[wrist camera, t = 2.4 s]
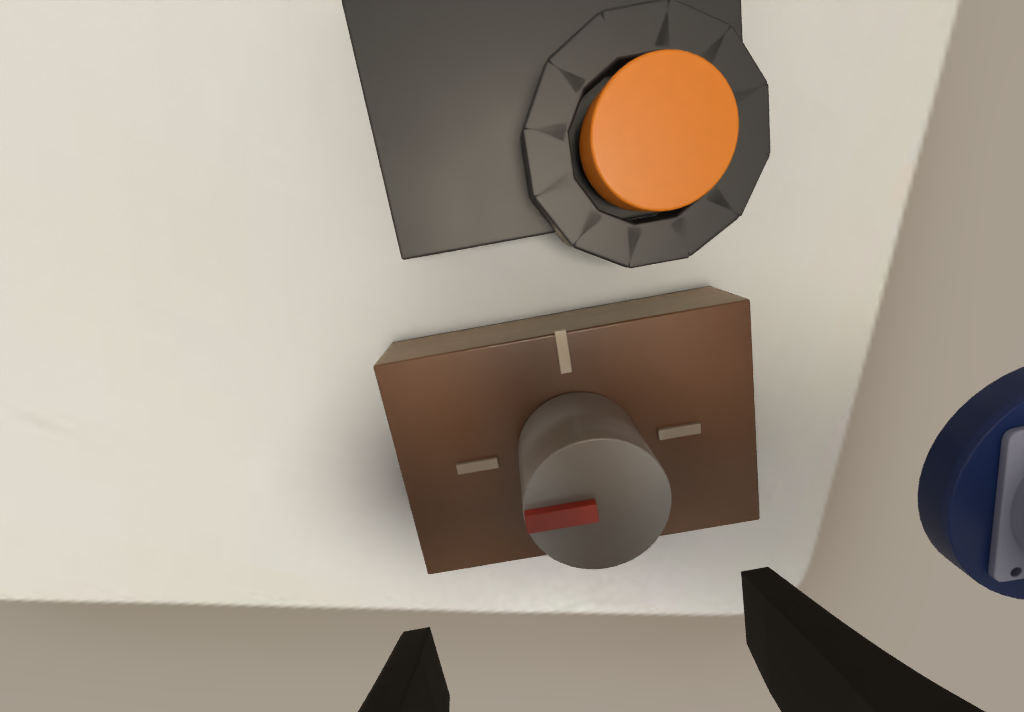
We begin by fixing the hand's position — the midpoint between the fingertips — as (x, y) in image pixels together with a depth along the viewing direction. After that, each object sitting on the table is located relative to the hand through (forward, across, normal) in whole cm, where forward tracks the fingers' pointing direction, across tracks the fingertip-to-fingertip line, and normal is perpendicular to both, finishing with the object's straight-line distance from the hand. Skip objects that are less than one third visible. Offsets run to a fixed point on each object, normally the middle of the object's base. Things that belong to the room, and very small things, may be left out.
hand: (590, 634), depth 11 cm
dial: (+6, -1, -2) cm, 6 cm away
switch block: (+9, -2, -12) cm, 16 cm away
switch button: (+5, -4, -10) cm, 12 cm away
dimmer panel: (+9, -1, -2) cm, 9 cm away
